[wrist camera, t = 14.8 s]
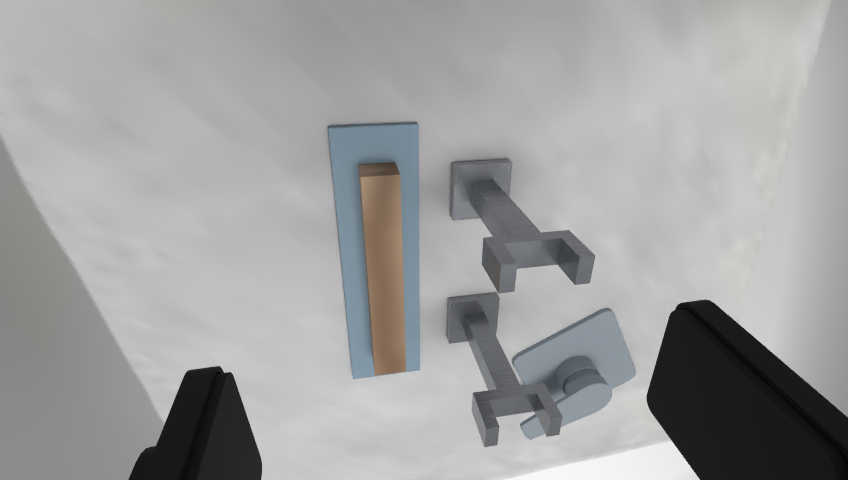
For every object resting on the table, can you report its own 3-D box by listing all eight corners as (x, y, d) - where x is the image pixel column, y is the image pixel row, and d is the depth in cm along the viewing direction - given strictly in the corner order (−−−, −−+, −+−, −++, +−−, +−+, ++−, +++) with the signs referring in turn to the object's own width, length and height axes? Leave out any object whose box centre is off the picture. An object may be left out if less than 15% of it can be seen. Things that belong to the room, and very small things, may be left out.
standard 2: (513, 158, 40) (599, 233, 27) (508, 211, 42) (585, 302, 30) (446, 162, 39) (503, 242, 26) (445, 216, 41) (496, 313, 29)
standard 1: (500, 292, 46) (565, 402, 34) (497, 330, 49) (556, 447, 36) (443, 298, 45) (487, 414, 33) (442, 337, 48) (483, 460, 35)
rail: (395, 162, 37) (400, 174, 35) (401, 350, 47) (406, 371, 44) (358, 164, 37) (360, 177, 34) (372, 354, 46) (375, 375, 44)
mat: (416, 122, 37) (418, 124, 36) (418, 366, 49) (419, 370, 48) (328, 126, 36) (328, 128, 35) (352, 374, 48) (353, 379, 47)
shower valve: (503, 403, 47) (636, 334, 46) (487, 366, 52) (607, 302, 50) (543, 464, 53) (661, 404, 52) (525, 425, 58) (633, 370, 57)
